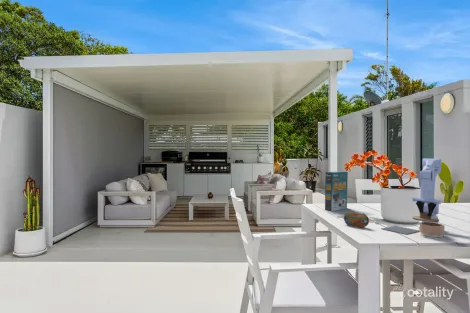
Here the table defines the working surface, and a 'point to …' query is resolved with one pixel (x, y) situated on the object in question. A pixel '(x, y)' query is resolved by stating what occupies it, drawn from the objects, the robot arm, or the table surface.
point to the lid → (425, 217)
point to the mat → (400, 230)
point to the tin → (356, 219)
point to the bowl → (432, 229)
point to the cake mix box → (336, 190)
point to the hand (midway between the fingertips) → (425, 215)
